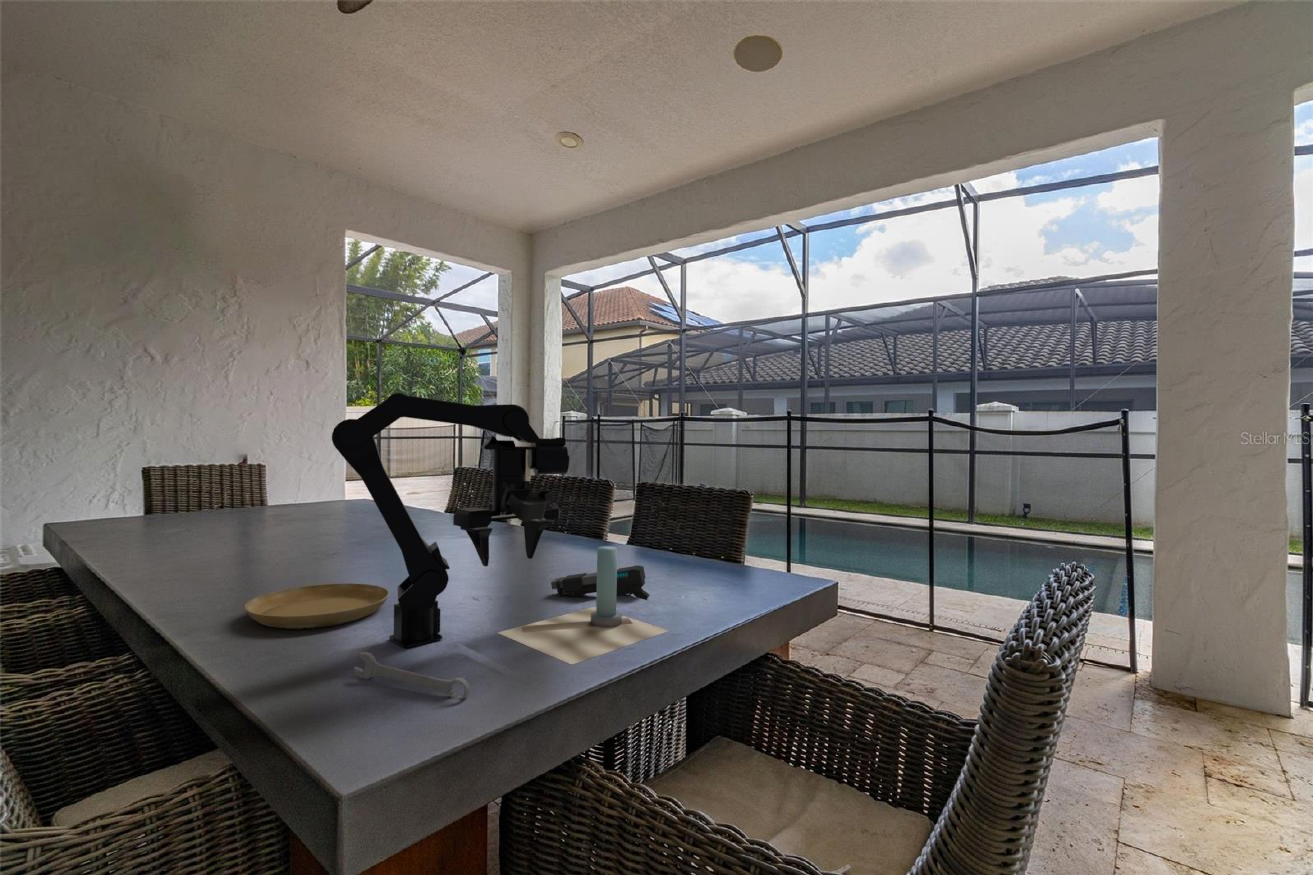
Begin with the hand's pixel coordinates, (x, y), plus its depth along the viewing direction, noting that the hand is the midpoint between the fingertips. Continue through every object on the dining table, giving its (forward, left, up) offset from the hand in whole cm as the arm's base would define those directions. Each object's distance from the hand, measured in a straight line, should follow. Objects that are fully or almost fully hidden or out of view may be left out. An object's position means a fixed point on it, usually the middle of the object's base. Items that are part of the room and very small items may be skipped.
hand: (508, 562), depth 108 cm
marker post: (+13, -12, -11) cm, 21 cm away
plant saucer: (-20, +33, -12) cm, 41 cm away
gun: (+26, +4, -12) cm, 29 cm away
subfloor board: (+7, -13, -12) cm, 19 cm away
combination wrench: (-23, -11, -12) cm, 29 cm away
